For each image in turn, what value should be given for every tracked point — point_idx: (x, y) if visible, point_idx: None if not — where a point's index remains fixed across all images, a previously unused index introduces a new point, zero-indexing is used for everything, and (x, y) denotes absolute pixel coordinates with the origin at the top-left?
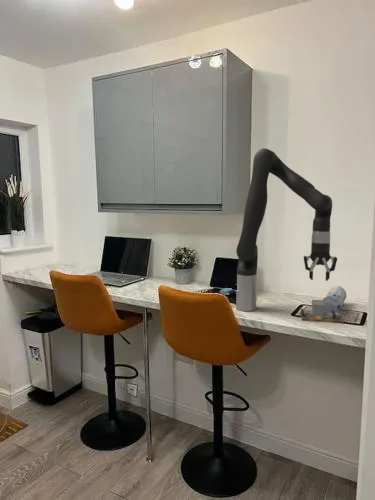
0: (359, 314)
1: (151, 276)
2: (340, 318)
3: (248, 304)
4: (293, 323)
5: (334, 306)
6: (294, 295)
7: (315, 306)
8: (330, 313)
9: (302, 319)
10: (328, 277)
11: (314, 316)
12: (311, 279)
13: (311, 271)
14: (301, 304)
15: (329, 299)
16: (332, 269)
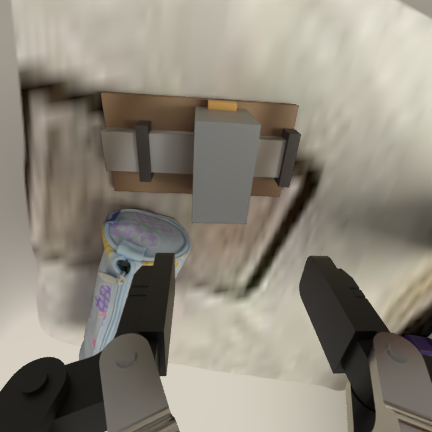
0: (40, 225)
1: None
2: (115, 128)
3: None
4: (348, 48)
5: (134, 222)
6: (251, 363)
7: (245, 122)
8: (158, 156)
9: (293, 105)
10: (143, 281)
11: (240, 111)
12: (324, 257)
13: (382, 333)
14: (247, 294)
15: (152, 248)
16: (46, 386)
